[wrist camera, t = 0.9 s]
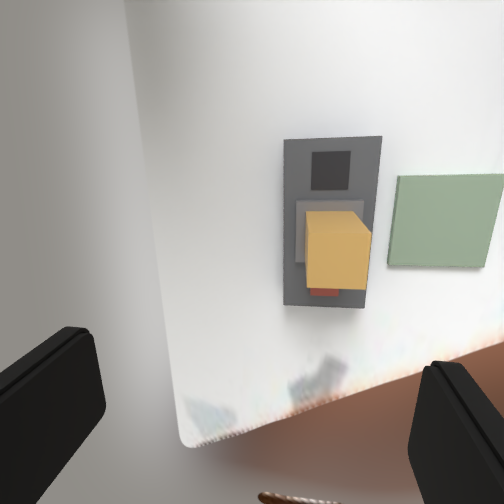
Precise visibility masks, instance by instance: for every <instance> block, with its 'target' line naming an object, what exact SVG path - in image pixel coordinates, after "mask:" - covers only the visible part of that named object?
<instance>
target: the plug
mask: <svg viewBox="0 0 504 504" xmlns="http://www.w3.org/2000/svg"><path fill="white" fill-rule="evenodd" d="M363 209H364V201H363V200H362V199H357V200H296V260H295V262H305V265H306V282H307V288H333V289H362V290H366V284H367V275H368V265H369V255H370V246H371V236H372V233H371V232H370V231H369V230H368V228H367V227H366V226H365V225H364V224H363V222H362V220H363Z"/></svg>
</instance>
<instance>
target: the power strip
mask: <svg viewBox="0 0 504 504" xmlns="http://www.w3.org/2000/svg"><path fill="white" fill-rule="evenodd" d="M381 144H382V136H367V137H341V138H315V139H289V140H284V305H294V306H317V307H341V308H364V307H365V298H366V290H362V289H333V288H307V282H306V265H305V262H295V260H296V200H357V199H362V200H363V201H364V209H363V220H362V222H363V224H364V225H365V226H366V227H367V228H368V230H369V231H370V232H371V233H372V231H373V221H374V211H375V202H376V192H377V183H378V173H379V164H380V154H381ZM371 240H372V236H371ZM370 250H371V246H370ZM369 259H370V255H369ZM368 269H369V265H368ZM367 279H368V275H367ZM366 288H367V284H366Z"/></svg>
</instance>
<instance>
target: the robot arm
mask: <svg viewBox="0 0 504 504" xmlns="http://www.w3.org/2000/svg"><path fill="white" fill-rule="evenodd" d="M105 409H106V401H105V395H104V391H103V385H102V380H101V375H100V369H99V364H98V359H97V353H96V348H95V343H94V338H93V336H92V334H90V333H89V331H88V330H87V329H86V328H79V327H64V328H62V329H61V330H60V331H58V332H57V333H55V334H54V335H53V336H51V337H50V338H48V339H47V340H45V341H44V342H43V343H41V344H40V345H38V346H37V347H36V348H34V349H33V350H31V351H30V352H29V353H27V354H26V355H25V356H23V357H22V358H20V359H19V360H17V361H16V362H15V363H14V364H12V365H11V366H9V367H8V368H6V369H5V370H4V371H2V372H1V373H0V504H36V502H37V501H38V500H39V499H40V497H41V496H42V495H43V494H44V492H45V491H46V490H47V488H48V487H49V486H50V485H51V483H52V482H53V481H54V479H55V478H56V477H57V475H58V474H59V473H60V471H61V470H62V469H63V467H64V466H65V465H66V464H67V462H68V461H69V460H70V458H71V457H72V456H73V455H74V453H75V452H76V451H77V449H78V448H79V447H80V446H81V444H82V443H83V442H84V440H85V439H86V438H87V436H88V435H89V434H90V433H91V431H92V430H93V429H94V427H95V426H96V425H97V423H98V422H99V421H100V419H101V418H102V417H103V415H104V412H105ZM408 455H409V460H410V464H411V466H412V469H413V472H414V475H415V478H416V480H417V484H418V486H419V489H420V492H421V495H422V498H423V501H424V503H425V504H504V418H503V417H502V416H501V415H500V413H499V412H498V411H497V409H496V408H495V407H494V406H493V404H492V403H491V401H490V400H489V399H488V398H487V396H486V395H485V394H484V392H483V391H482V390H481V388H480V387H479V386H478V385H477V383H476V382H475V381H474V379H473V378H472V377H471V375H470V374H469V373H468V372H467V370H466V369H465V368H464V366H463V365H462V364H460V363H454V362H445V361H433V362H432V363H431V366H425V367H424V369H423V373H422V378H421V383H420V388H419V393H418V398H417V403H416V408H415V413H414V417H413V422H412V428H411V432H410V437H409V442H408Z"/></svg>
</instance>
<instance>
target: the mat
mask: <svg viewBox="0 0 504 504" xmlns="http://www.w3.org/2000/svg"><path fill="white" fill-rule="evenodd" d="M503 188H504V174H466V175H414V176H398V179H397V187H396V195H395V203H394V211H393V219H392V227H391V235H390V243H389V251H388V259H387V263H388V265H403V266H449V267H484V266H485V262H486V258H487V253H488V249H489V245H490V241H491V237H492V233H493V229H494V225H495V221H496V217H497V212H498V208H499V204H500V200H501V196H502V192H503Z"/></svg>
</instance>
